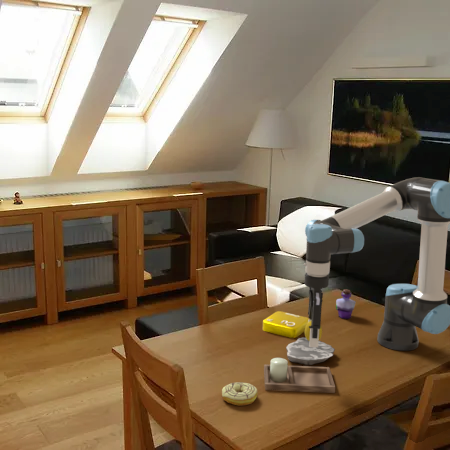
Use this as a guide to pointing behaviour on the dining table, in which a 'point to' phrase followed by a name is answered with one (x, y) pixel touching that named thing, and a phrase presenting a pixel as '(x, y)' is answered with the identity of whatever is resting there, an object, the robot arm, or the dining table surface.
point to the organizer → (302, 379)
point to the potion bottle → (345, 305)
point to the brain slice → (308, 352)
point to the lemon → (307, 331)
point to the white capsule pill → (278, 370)
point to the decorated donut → (239, 393)
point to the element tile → (285, 324)
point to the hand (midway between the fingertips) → (312, 342)
